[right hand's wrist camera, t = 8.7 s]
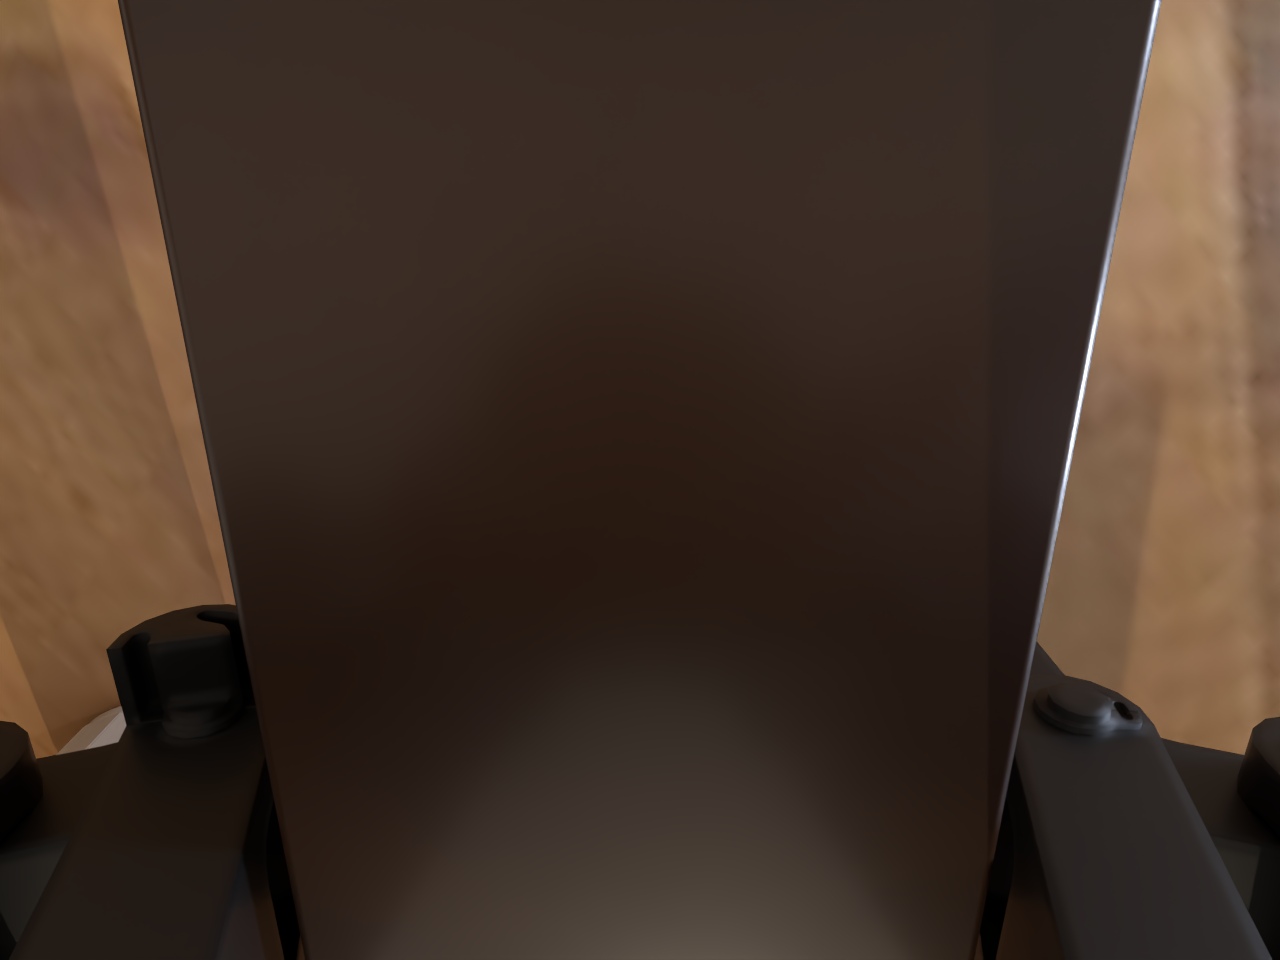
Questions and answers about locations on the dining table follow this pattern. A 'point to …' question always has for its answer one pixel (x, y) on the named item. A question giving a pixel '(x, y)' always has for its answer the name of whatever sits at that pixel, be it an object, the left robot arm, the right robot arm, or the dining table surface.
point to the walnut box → (639, 444)
